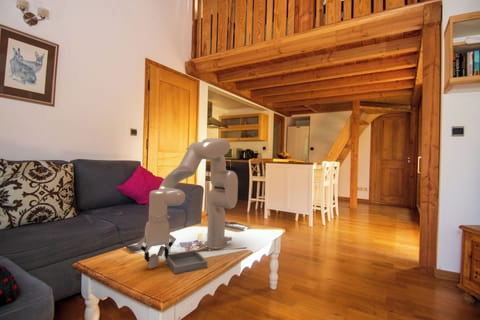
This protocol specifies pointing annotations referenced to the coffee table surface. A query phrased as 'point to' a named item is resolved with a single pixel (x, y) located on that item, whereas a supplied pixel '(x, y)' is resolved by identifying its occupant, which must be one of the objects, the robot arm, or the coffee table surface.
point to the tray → (186, 262)
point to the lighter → (155, 258)
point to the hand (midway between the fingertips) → (156, 258)
